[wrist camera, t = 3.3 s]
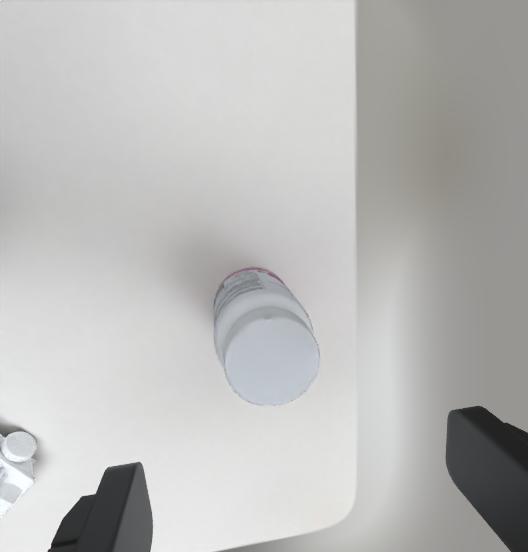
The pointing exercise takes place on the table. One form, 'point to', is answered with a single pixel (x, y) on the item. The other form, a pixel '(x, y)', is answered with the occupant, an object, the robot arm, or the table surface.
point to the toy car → (15, 467)
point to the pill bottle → (263, 338)
